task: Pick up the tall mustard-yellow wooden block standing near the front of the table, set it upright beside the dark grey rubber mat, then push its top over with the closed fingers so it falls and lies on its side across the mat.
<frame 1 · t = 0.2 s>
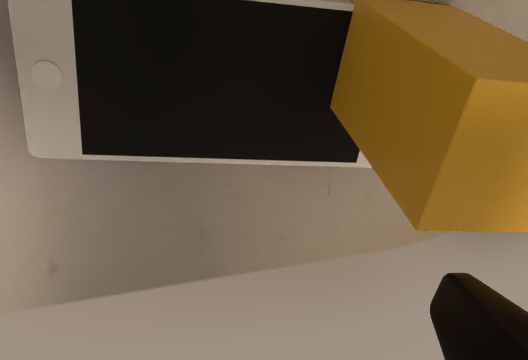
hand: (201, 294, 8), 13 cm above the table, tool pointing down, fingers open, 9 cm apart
block: (387, 55, 20), on the table, touching smartphone
smartphone: (227, 76, 20), on the table, touching block
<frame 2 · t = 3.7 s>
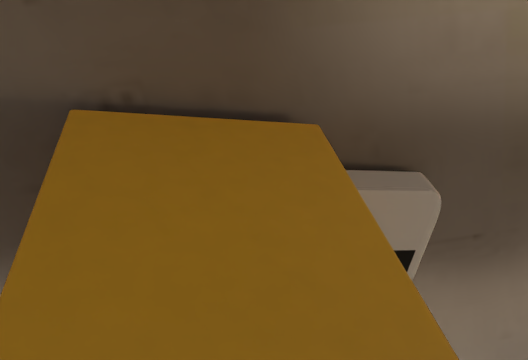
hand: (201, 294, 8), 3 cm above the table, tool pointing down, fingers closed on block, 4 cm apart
block: (192, 215, 10), on the table, touching gripper, smartphone
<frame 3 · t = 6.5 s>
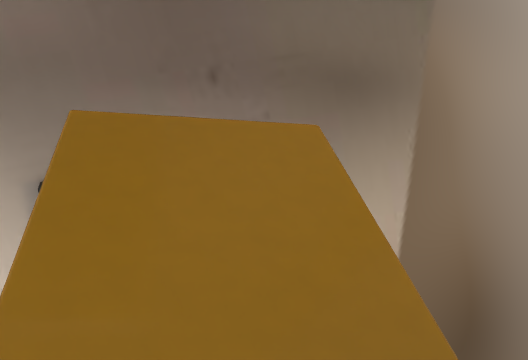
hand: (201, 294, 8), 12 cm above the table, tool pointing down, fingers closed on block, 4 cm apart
block: (192, 216, 10), point 10 cm above the table, touching gripper
when the fingers open (2 cm above the table, at t = 9.2 s): block stays where it is, on the table.
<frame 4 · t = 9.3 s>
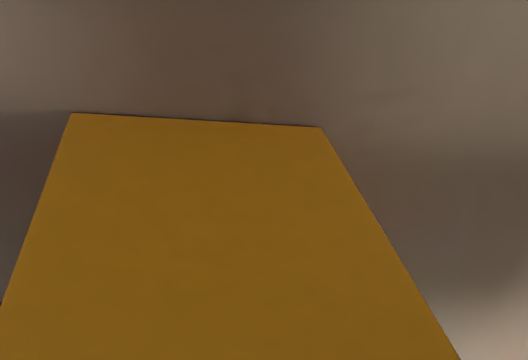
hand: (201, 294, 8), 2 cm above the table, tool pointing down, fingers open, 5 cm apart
block: (194, 219, 10), on the table
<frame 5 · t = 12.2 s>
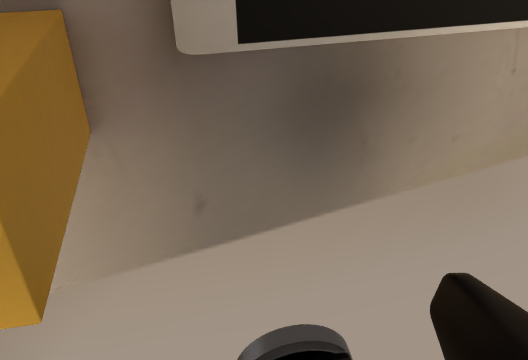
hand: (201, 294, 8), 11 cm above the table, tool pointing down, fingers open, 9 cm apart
block: (8, 81, 16), on the table
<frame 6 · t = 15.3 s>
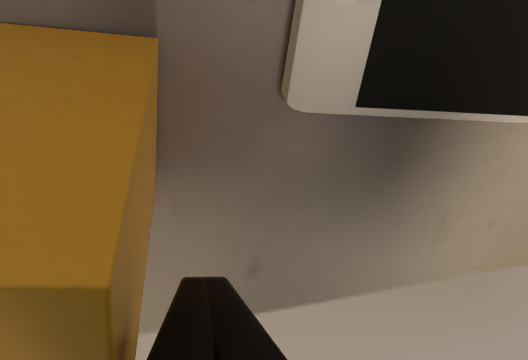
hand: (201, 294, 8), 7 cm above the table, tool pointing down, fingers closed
block: (73, 110, 13), on the table, touching gripper
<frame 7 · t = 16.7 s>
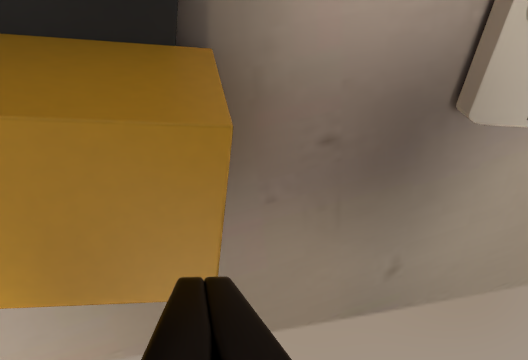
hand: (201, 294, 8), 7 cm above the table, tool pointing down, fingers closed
block: (214, 167, 12), point 3 cm above the table, tilted 90°, touching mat
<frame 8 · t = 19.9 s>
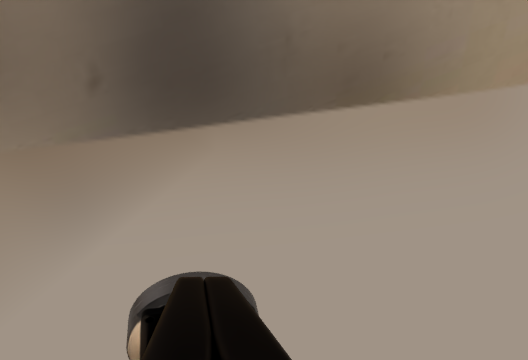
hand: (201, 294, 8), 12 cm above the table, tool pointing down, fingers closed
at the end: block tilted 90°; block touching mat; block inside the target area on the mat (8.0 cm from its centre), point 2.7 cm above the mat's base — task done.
